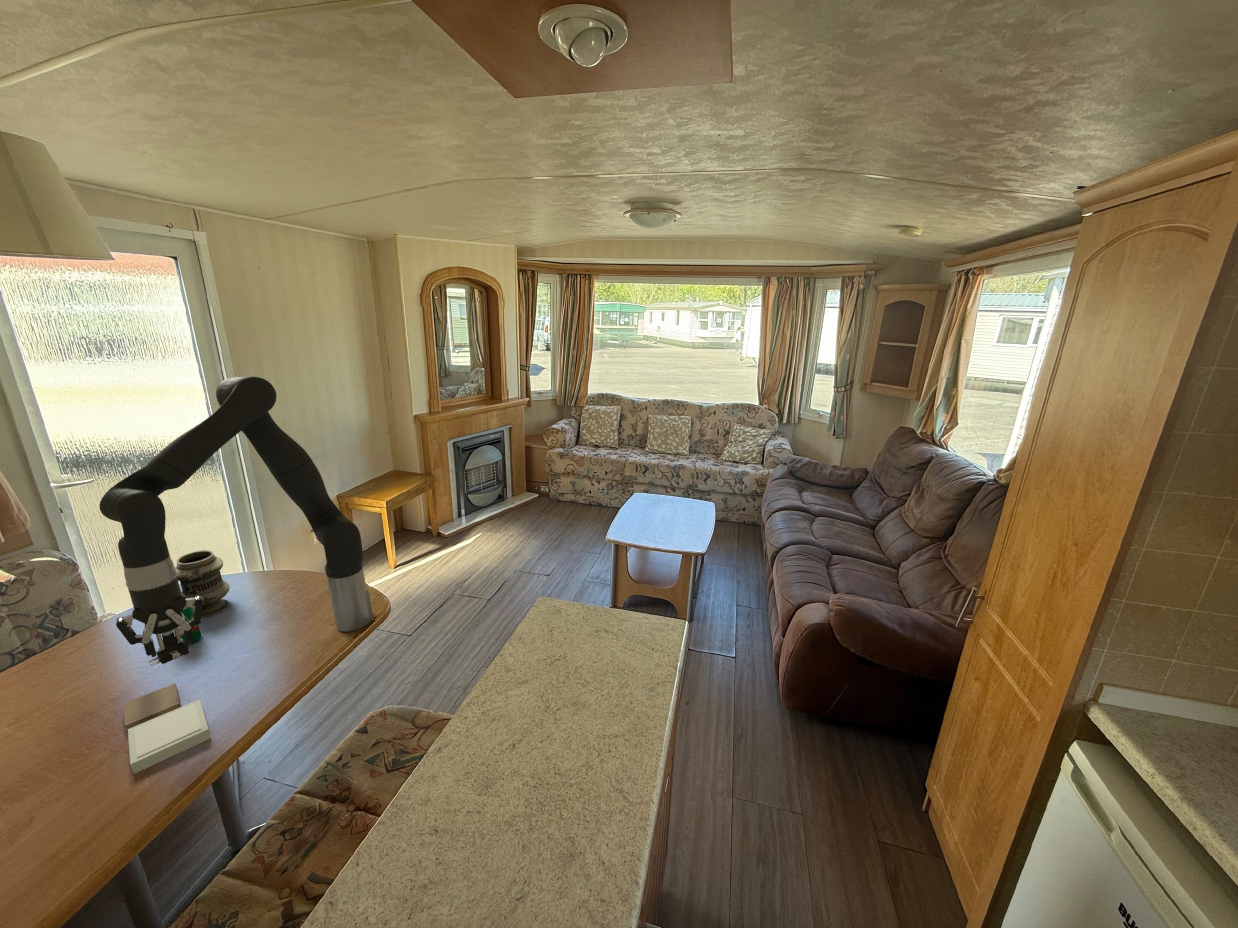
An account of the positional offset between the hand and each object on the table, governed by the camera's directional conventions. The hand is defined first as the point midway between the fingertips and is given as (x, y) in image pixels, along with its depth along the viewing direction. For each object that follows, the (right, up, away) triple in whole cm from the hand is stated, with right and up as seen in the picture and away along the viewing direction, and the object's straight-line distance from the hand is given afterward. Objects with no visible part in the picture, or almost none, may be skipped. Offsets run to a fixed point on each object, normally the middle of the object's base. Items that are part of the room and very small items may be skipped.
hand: (171, 648), depth 107 cm
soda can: (-21, -9, +29) cm, 37 cm away
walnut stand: (-9, -16, +6) cm, 20 cm away
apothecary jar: (-29, -5, +44) cm, 53 cm away
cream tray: (+1, -19, -2) cm, 19 cm away
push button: (-1, -3, 0) cm, 3 cm away
